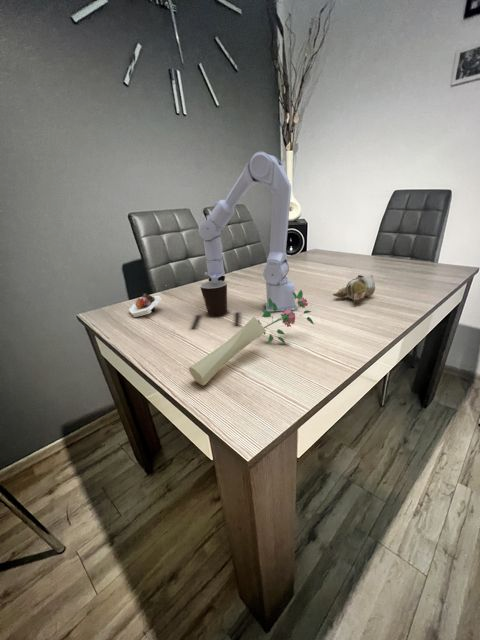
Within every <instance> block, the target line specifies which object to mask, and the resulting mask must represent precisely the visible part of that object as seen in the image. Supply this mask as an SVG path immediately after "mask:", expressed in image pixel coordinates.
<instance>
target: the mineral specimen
mask: <svg viewBox="0 0 480 640" xmlns="http://www.w3.org/2000/svg"><path fill="white" fill-rule="evenodd" d="M161 301H163V298H162V297H160V296H159V295H154V296H152V295H150V294H148V293H145V292H143V294H142V296H141V298H139V297H138V298H137V299H136V301H135V303H133V304H132V305H131V307H130V308H128V311H129V312H130V314H131V315H132V316H133V317H134V318H137V317H142V316H145V315H149V314H151V313H154V312H155V308H156V307H157V306H158V304H160V302H161Z"/></svg>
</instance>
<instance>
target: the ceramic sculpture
mask: <svg viewBox="0 0 480 640" xmlns="http://www.w3.org/2000/svg"><path fill="white" fill-rule="evenodd" d="M375 291H376V281H375V279H374V275H373V274H370V275H367V276H364V275H361V274H359V275H357V276H356V278H353V279H350V280H349V281H348V282H347V284H346V286H345V287H342V288H340V289H339V290H338V291H337V292H336V293H332V296H334V297H338V298H345V297H347V298H348V299H350V300H352V301H353V302H355V303H360V302H361V303H362V301H363V300H364V299H365V298H366V297H371V296H373V295H374V293H375Z"/></svg>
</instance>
